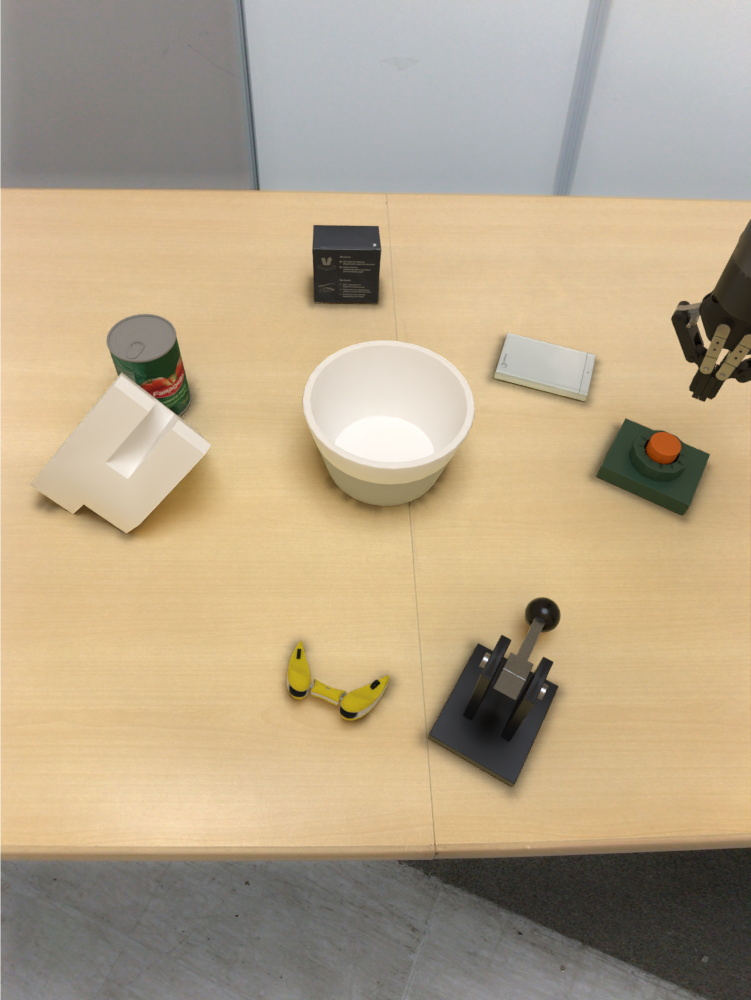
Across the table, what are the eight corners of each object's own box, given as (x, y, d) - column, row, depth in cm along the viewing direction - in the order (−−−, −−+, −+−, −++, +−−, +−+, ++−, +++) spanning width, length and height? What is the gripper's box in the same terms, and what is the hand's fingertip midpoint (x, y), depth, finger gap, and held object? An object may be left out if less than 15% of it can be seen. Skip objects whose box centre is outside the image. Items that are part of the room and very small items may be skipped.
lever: (523, 612, 78) (537, 585, 77) (555, 628, 77) (569, 601, 76) (483, 689, 65) (498, 658, 64) (520, 709, 64) (536, 679, 63)
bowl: (389, 554, 83) (396, 500, 74) (272, 459, 90) (265, 399, 81) (492, 458, 92) (509, 399, 83) (378, 378, 99) (382, 316, 90)
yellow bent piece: (270, 700, 72) (274, 676, 70) (296, 657, 77) (301, 634, 75) (364, 740, 70) (371, 716, 68) (385, 693, 75) (392, 670, 74)
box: (376, 279, 110) (380, 224, 102) (378, 305, 107) (381, 249, 99) (314, 278, 110) (312, 222, 102) (313, 304, 106) (312, 248, 99)
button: (679, 448, 89) (685, 439, 88) (670, 469, 88) (676, 460, 86) (650, 436, 90) (656, 427, 89) (641, 456, 88) (646, 447, 87)
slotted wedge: (114, 541, 86) (174, 500, 73) (29, 484, 82) (77, 430, 69) (173, 455, 94) (238, 403, 80) (98, 399, 90) (153, 335, 76)
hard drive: (495, 370, 98) (588, 394, 97) (507, 330, 103) (596, 352, 101) (493, 379, 100) (584, 402, 98) (505, 339, 104) (593, 361, 102)
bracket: (476, 647, 77) (496, 595, 68) (556, 690, 75) (589, 642, 65) (427, 738, 72) (442, 695, 62) (512, 787, 69) (541, 751, 60)
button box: (703, 464, 93) (716, 444, 90) (682, 515, 88) (696, 496, 85) (620, 429, 96) (630, 408, 92) (595, 476, 91) (605, 456, 88)
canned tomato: (142, 373, 97) (122, 307, 88) (199, 384, 97) (186, 319, 88) (118, 418, 93) (94, 353, 84) (178, 429, 92) (161, 366, 83)
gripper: (693, 256, 66) (630, 392, 80) (847, 311, 62) (752, 442, 76) (715, 214, 69) (651, 351, 84) (861, 263, 66) (769, 397, 80)
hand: (700, 394), depth 80 cm, fingers closed
